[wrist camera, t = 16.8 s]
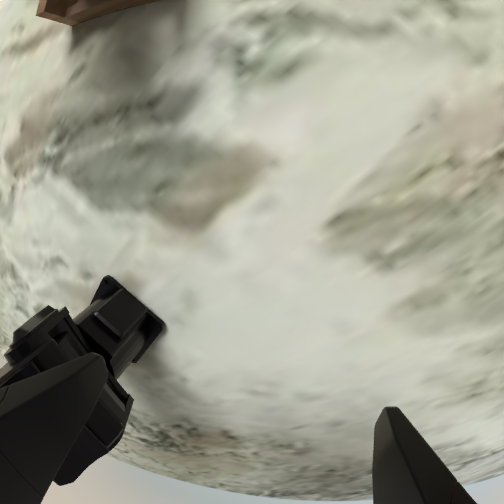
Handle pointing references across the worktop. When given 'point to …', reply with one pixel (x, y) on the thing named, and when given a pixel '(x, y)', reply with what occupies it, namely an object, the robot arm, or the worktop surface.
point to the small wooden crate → (82, 9)
